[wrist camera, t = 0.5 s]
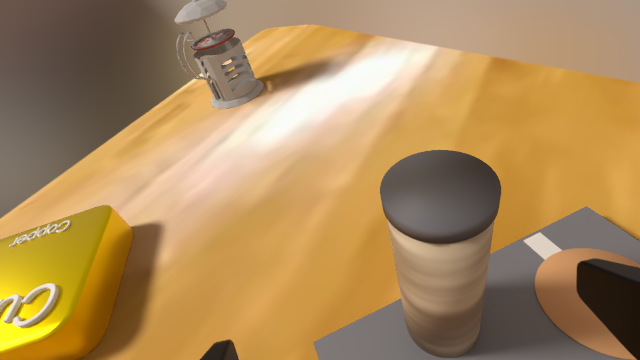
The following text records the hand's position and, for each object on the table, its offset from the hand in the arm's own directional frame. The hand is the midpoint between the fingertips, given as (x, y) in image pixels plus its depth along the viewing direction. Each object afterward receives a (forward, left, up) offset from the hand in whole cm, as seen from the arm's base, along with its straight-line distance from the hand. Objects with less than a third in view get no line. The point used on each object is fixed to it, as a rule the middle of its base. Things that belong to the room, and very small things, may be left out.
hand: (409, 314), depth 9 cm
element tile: (+24, +27, -16) cm, 39 cm away
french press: (+54, +3, -15) cm, 56 cm away
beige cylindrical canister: (+5, -4, -14) cm, 15 cm away
